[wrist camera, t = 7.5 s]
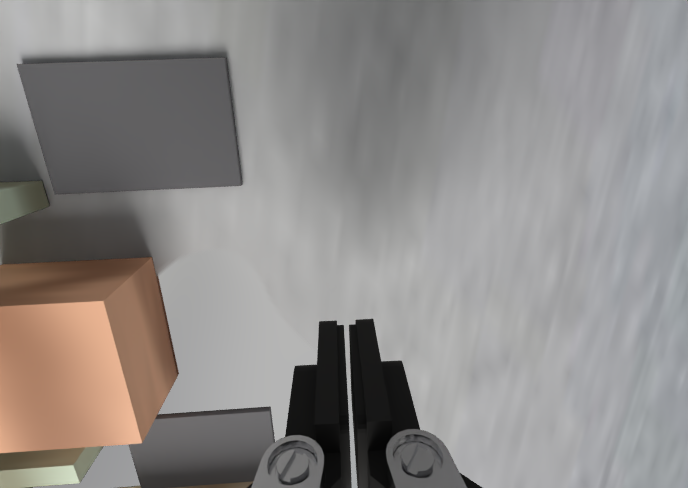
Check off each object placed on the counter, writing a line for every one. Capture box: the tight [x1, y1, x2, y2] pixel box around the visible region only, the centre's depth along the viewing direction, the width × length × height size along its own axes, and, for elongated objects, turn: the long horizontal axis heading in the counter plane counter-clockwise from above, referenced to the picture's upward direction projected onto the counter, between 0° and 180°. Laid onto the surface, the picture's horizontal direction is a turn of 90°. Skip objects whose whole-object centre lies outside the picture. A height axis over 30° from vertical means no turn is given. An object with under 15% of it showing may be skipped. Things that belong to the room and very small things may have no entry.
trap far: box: [129, 407, 275, 488], centre depth 19 cm, size 7×4×1 cm, turn 92°
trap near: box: [17, 57, 242, 194], centre depth 14 cm, size 7×4×1 cm, turn 92°
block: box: [0, 257, 179, 453], centre depth 15 cm, size 6×6×4 cm
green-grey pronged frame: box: [0, 181, 254, 488], centre depth 15 cm, size 16×22×3 cm
